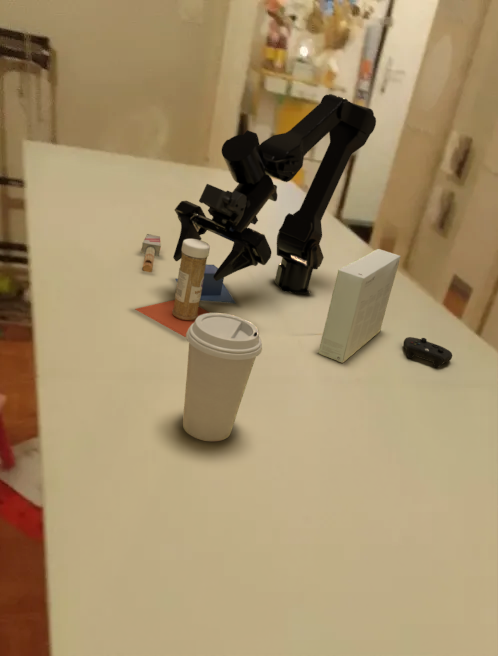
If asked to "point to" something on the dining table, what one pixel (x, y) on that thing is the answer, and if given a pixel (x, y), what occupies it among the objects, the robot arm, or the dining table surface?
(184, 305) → the sprinkles bottle
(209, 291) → the blue block
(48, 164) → the dining table surface
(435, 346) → the game controller
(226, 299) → the blue mat
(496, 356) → the dining table surface
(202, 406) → the coffee cup
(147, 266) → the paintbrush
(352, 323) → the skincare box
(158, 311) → the terracotta mat
